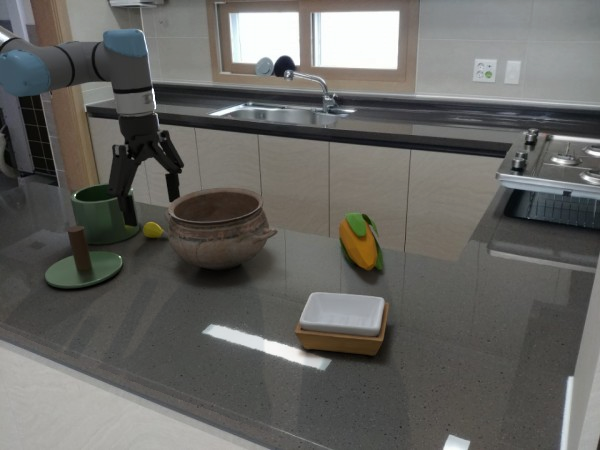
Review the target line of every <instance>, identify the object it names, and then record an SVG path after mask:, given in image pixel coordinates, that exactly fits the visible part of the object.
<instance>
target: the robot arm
mask: <svg viewBox="0 0 600 450" xmlns="http://www.w3.org/2000/svg"><path fill="white" fill-rule="evenodd" d="M102 39H103V40H101V41H79V40H73V41H66V42H61V43H59V44H55V45H46V46H37V45H35V44H34V43H31V42H29V41H28V40H26V39H24V38H22V37H20V36H19V35H17V34H16V33H14V32H12V31H10V30H8V29H7V28H6V27H3V26H2V25H0V85H1V86H2V88H3V90H4V91H5V92H6V93H7V94H9V95H11V96H13V97H19V98H21V97H28V96H30V97H31V96H33V97H34V96H39V95H42V94H44V93H49V92H53V91H57V90H61V89H66V88H70V87H74V86H78V85H83V84H88V83H111V88H112V93H113V98H114V104H115V111H116V113H117V114H118V117H117V120H118V127H119V131H120V134H121V135H122V136H123V138H124V141H123V142H124V143H122V144H115V143H114V144H112V146H111V151H112V158H111V159H112V160H111V165H110V171H109V179H108V182H107V183H108V189H107V194H108V195H110V196H116V197H117V199H118V204H119V209H120V211H121V212H122V213H123V218H124V223H125V225H128V226H133V227H136V226H138V225H137V220H136V214H135V209H134V203H133V198H132V195H128V194H129V191H130V188H131V186H132V185H133V183H134V180H135V176H136V174H137V172H138V168H139V166H141V165H142V163H143V162H145V161H147V160H148V159H152V158H153V159H154V160H155V161H156V162H157V163H158V164H159V165H160V166H161V167H162V168H163V169H164V170H165V172H167V173H165V174H164V177H165V184H166V189H167V197H168V203H170V204H171V203H172V202H173V201H174V200H176V199H177V198H179V197H181V192H180V176H179V175H181V174H182V173H183V169H184V168H185V163H184V161H183V159H182V157H181V156H180V154H179V152H178V150H177V149H176V147H175V144H174V143H173V142H172V140H171V135H170V132H169V130H168V129H160V123H159V118H158V116H159V115H158V113H157V112H156V111H155V110H156V109H157V105H156V99H155V91H154V85H153V80H152V74H151V66H150V56H149V55H150V54H149V50H148V47H147V42H146V41H147V40H146V38H145V33H144V31H142V30H141V29H139V28H120V29H109V30H108V29H107V30H105V31H103V33H102ZM114 189H115V190H114ZM122 189H123V190H122Z"/></svg>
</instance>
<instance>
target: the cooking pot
mask: <svg viewBox="0 0 600 450" xmlns="http://www.w3.org/2000/svg"><path fill="white" fill-rule="evenodd" d="M264 202H265V201H264V198H263V196H262V195H261V194H260V193H259V192H257V191H254V190H251V189H246V188H239V187H214V188H207V189H201V190H196V191H192V192H190V193H186V194H184V195H182V196H181V195H180V197H179V198H177V199H176V200H174V201H173V202H172V203H171V202H170V204H169V205H168V207H167V211H166V212H165V213H164V219H165V221H166V222H167V224H168V228H167V233H168V238H167V239H168V244H169V246H170V247H171V249H172V251H173V252H174V254H175V255H177V257H178V258H179V259H180V260H183V261H184V262H185V263H187V264H190V265H193V266H196V267H199V268H203V269H208V270H212V271H218V272H219V271H220V272H221V271H228V270H231V269H234V268H236V267H237V266H239V265H242V264H244V263H246V262H247V261H250V260H251V259H253V258H254V257H255V256H257V255H258V254H259V253H260V252H261V251H262V250H263V249H264V247H265V246H266V244H267V241H268V240H269V239H271V238H272V237H274V236H275V235H277V234H278V230H277V229H276V228H270V223H269V222H270V221H269V218H268V216H267V213H266V211H265V209H264V207H263V205H264Z"/></svg>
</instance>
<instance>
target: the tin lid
mask: <svg viewBox="0 0 600 450" xmlns="http://www.w3.org/2000/svg"><path fill="white" fill-rule="evenodd" d="M67 235H68V239H69V240H68V241H69V244H70V247H71V252H72V255H70V256H67V257H65V258H62V259H61V260H59V261H56V262H54V263H53V264H52V265H50V266H49V267H48V269H46V271H45V274H44V279H45V281H46V283H47V284H48V285H50V286H52V287H54V288H59V289H78V288H85V287H90V286H93V285H97V284H100V283H102V282H105V281H106V280H109V279H110V278H112V277H114V276H115V275H116V274H117V273H119V271H121V269H122V267H123V259H122V257H121V256H120V255H119V254H117V253H114V252H111V251H105V250H96V251H94V250H93V251H89V246H88V245H89V244H87V241H86V236H85V232H84V227H83V226H77V225H75V226H70V227H69V228H67Z"/></svg>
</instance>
